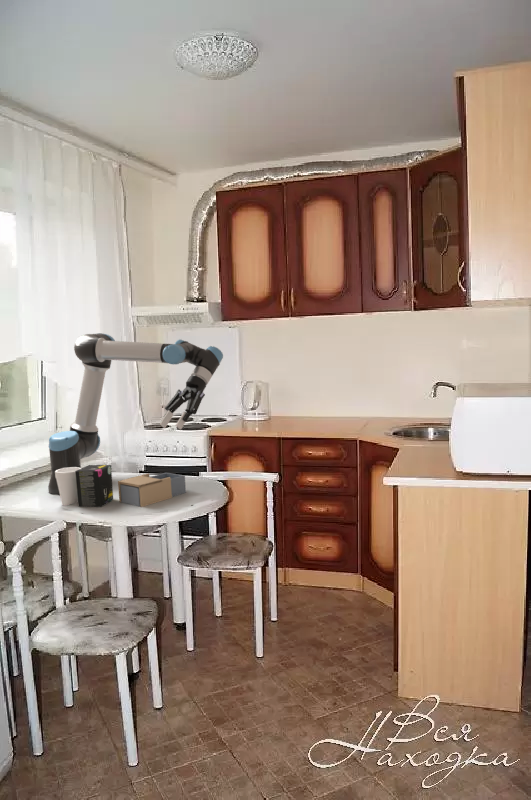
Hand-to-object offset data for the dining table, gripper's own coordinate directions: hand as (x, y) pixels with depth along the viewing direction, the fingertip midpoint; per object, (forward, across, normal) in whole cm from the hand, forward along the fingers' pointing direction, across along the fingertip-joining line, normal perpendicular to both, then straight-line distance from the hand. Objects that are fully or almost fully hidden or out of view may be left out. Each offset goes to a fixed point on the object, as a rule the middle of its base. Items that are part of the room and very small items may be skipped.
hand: (170, 426), depth 245 cm
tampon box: (+37, +14, -1) cm, 40 cm away
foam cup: (+39, +26, +1) cm, 47 cm away
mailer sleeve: (+28, +1, -10) cm, 30 cm away
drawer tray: (+25, +1, -12) cm, 28 cm away
